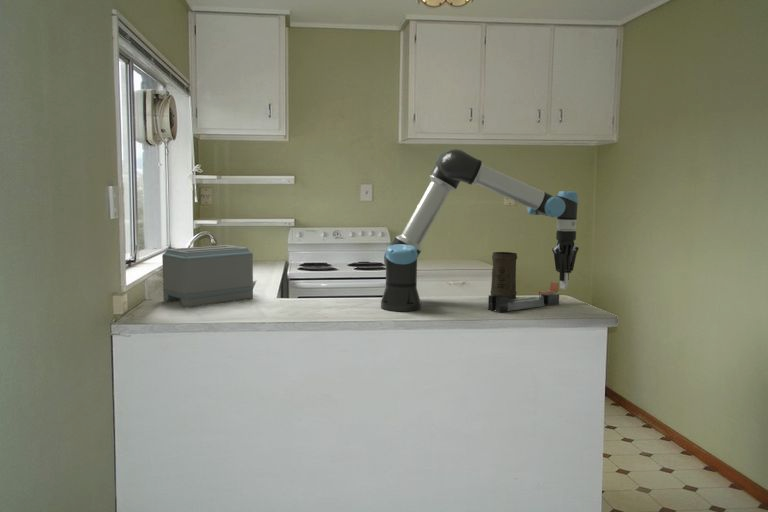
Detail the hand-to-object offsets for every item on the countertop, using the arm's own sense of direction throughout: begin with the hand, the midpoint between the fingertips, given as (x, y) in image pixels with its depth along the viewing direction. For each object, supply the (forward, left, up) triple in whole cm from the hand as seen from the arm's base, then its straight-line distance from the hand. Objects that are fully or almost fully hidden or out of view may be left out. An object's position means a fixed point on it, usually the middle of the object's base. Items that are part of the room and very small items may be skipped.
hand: (563, 288), depth 253 cm
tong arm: (-17, -20, -5) cm, 26 cm away
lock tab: (-6, -6, -1) cm, 9 cm away
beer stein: (-24, -1, -6) cm, 24 cm away
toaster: (-136, -34, -6) cm, 140 cm away
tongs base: (-15, -15, -6) cm, 22 cm away
